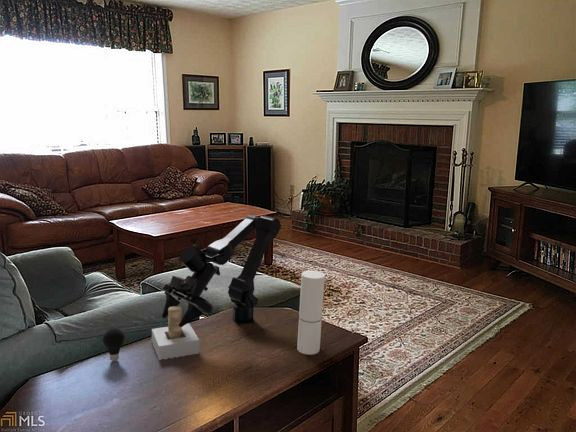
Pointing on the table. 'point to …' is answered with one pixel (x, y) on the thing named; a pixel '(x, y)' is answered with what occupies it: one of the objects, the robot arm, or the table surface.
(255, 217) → the robot arm
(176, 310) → the peg
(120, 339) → the light bulb
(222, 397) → the table surface
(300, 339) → the cylindrical container
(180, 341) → the socket block
